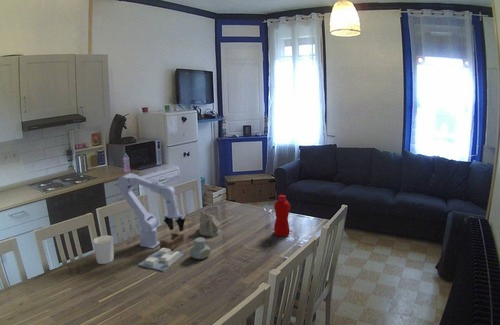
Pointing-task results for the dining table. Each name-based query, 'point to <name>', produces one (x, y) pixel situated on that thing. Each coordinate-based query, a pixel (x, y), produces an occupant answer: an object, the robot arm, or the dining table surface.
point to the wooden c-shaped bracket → (172, 241)
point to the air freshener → (199, 249)
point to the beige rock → (209, 225)
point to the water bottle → (282, 216)
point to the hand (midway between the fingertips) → (176, 230)
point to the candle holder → (104, 249)
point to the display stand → (161, 259)
